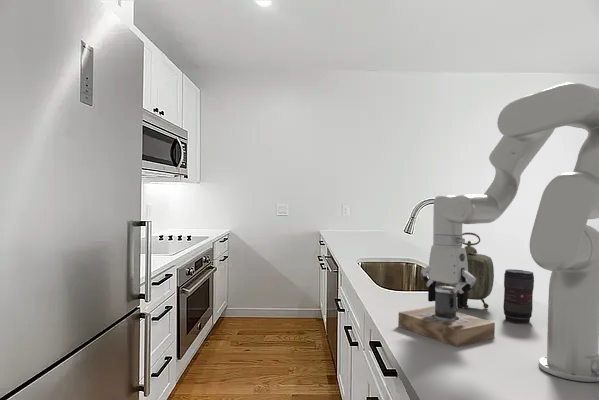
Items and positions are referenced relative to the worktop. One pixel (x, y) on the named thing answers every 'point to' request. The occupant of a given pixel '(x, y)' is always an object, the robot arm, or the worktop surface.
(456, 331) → the mount board
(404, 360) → the worktop surface
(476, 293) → the tabletop clock
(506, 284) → the camera lens
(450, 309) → the shiny metal canister
